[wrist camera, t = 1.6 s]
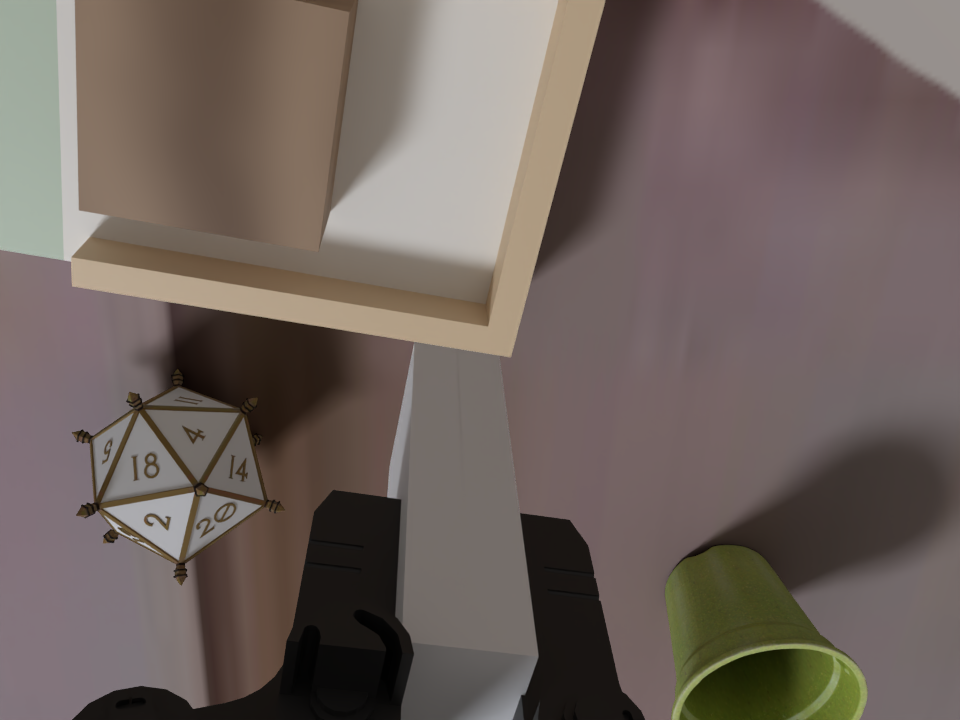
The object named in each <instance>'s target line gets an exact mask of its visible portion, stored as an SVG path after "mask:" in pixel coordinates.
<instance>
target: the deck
mask: <svg viewBox="0 0 960 720" xmlns="http://www.w3.org/2000/svg"><path fill="white" fill-rule="evenodd" d="M604 4H605V0H358V7H357V14H356V22H355V29H354V37H353V44H352V52H351V59H350V67H349V74H348V82H347V90H346V97H345V105H344V112H343V120H342V127H341V135H340V142H339V150H338V157H337V165H336V172H335V180H334V188H333V195H332V203H331V210H330V214H329V218H328V221H327V225H326V228H325V232H324V235H323V238H322V242H321V245H320V249H319V252H314V251H309V250H303V249H297V248H292V247H286V246H280V245H274V244H269V243H263V242H257V241H251V240H246V239H240V238H234V237H228V236H223V235H217V234H211V233H205V232H200V231H194V230H188V229H183V228H177V227H171V226H165V225H160V224H154V223H148V222H142V221H137V220H131V219H125V218H119V217H114V216H108V215H102V214H97V213H91V212H85V211H79V196H78V144H77V93H76V42H75V0H0V250H5V251H11V252H17V253H23V254H29V255H35V256H41V257H47V258H53V259H59V260H65V261H71V270H72V286H73V287H80V288H86V289H92V290H98V291H104V292H111V293H117V294H123V295H129V296H135V297H141V298H148V299H154V300H160V301H166V302H172V303H179V304H185V305H191V306H197V307H203V308H209V309H216V310H222V311H228V312H234V313H240V314H247V315H253V316H259V317H265V318H271V319H277V320H284V321H290V322H296V323H302V324H308V325H315V326H321V327H327V328H333V329H339V330H345V331H352V332H358V333H364V334H370V335H376V336H383V337H389V338H395V339H401V340H407V341H413V342H420V343H426V344H432V345H438V346H444V347H451V348H457V349H463V350H469V351H475V352H481V353H488V354H494V355H500V356H506V357H511V355H512V351H513V347H514V343H515V340H516V336H517V332H518V328H519V325H520V321H521V317H522V313H523V310H524V306H525V302H526V298H527V294H528V291H529V287H530V283H531V279H532V276H533V272H534V268H535V264H536V261H537V257H538V253H539V249H540V245H541V242H542V238H543V234H544V230H545V227H546V223H547V219H548V215H549V212H550V208H551V204H552V200H553V196H554V193H555V189H556V185H557V181H558V178H559V174H560V170H561V166H562V163H563V159H564V155H565V151H566V147H567V144H568V140H569V136H570V132H571V129H572V125H573V121H574V117H575V114H576V110H577V106H578V102H579V98H580V95H581V91H582V87H583V83H584V80H585V76H586V72H587V68H588V65H589V61H590V57H591V53H592V49H593V46H594V42H595V38H596V34H597V31H598V27H599V23H600V19H601V16H602V12H603V8H604Z"/></svg>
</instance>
